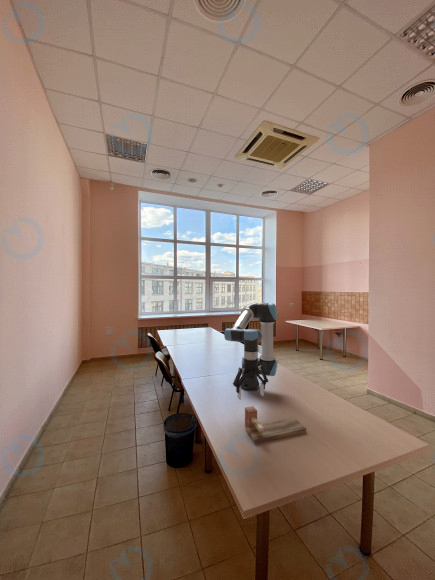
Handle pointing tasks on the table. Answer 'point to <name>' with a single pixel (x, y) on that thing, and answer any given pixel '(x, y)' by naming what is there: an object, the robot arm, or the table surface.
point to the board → (276, 430)
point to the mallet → (252, 419)
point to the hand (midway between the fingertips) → (250, 396)
